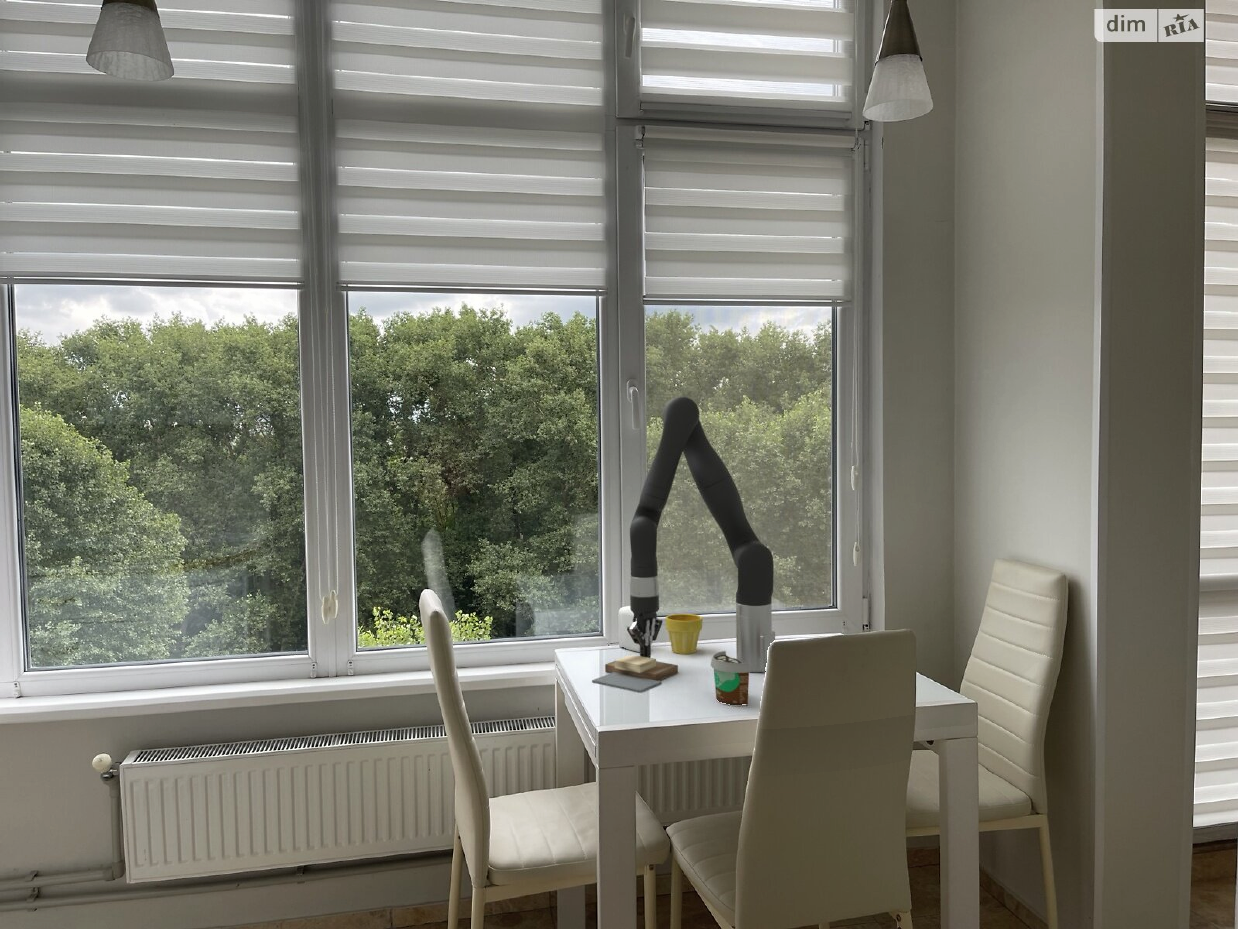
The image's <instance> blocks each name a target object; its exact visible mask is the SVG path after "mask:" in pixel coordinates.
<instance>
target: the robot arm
mask: <svg viewBox="0 0 1238 929" xmlns="http://www.w3.org/2000/svg"><path fill="white" fill-rule="evenodd" d="M662 419H663V425H662V426H663V427H662V433H661V437H660V440H659V441H660V442H659V445H658V448H657V451H656V453H655V456H654V457H653V460H652V463H651V465H650V468H649V470H648V472H647V475H646V478H645V480H644V484H643V486H642V488H641V493H640V497H639V501H638V502H639V503H638V505H637V508H636V509H635V512H634V515H633V517H632V521H631V524H630V527H629V542H630V543H629V544H630V552H631V553H630V554H631V555H630V580H629V582H630V583H629V600H630V601H629V603H630V605H629V606H630V609H631V611H632V612H633V613H634V617H633V624H632V626H631V627H628V628H627V631H628V633H629V635H630V636H631V638H632V640H633V641H634V643H635V644H639V645H640V652H639V653H640V654H639V656H643V657H648V658H652V657H651V656H652V647H651V646H652V644H653V642H655V641H656V640H657V638H658V635H659V632H660V630H661V628H662V625H663V619H659V618H658V614H657V613H658V611H660V585H659V584H660V583H659V576H658V575H659V574H658V571H659V570H658V557H657V547H658V542H657V541H658V527H659V524H660V520H661V518H662V514H663V510H664V509H665V507H666V504H667V502H668V500H669V496H670V493H671V490H672V487H673V483H674V481H675V477H676V473H677V470H678V466H679V463H680V460H681V458H682V454H683V456H684V457H685V460H686V464H687V466H688V469H689V472H690V474H691V476H692V478H693V481H694V483H695V486H696V487H697V490H698V492H699V493H700V495H701V498H702V499H703V502H704V503H705V505H706V507H707V509H708V510H709V513H710V514H711V516H712V517H713V519H714V520H715V522H716V524H717V525H718V527H719V528H720V529H721V532H722V534H723V536H724V538H725V541H726V543H727V546H728V549H729V551H730V554H731V558H732V559H733V563H734V565H735V567H736V568H737V588H736V591H735V592H736V593H735V628H736V629H735V633H736V635H735V636H736V640H735V641H736V642H735V643H736V645H735V646H736V650H735V651H736V659H737V660H739V661H740V662H741V663H749V666H750V671H751V672H750V673H764V674H765V673H766V672H765V667H766V663H767V650H768V647H769V646H770V643H772V642H773V641H774V640H775V641H776V632H775V630H773V616H772V615H773V613H772V611H773V610H772V609H773V608H772V607H773V606H772V598H773V597H772V596H773V593H774V578H775V576H774V575H775V574H774V570H775V569H774V556H773V554H772V551H771V550H770V549H769V547H768V546H767V545H765V544H763V543H762V542H761V540H760V539H759V538H758V536H757V534H756V533H755V532H754V529H753V528H752V526H751V525H750V523H749V520H748V518H747V516H746V512H745V510H744V506H743V502H742V499H741V496H740V492H739V490H738V488H737V485H736V483H735V482H734V479H733V477H732V475H731V473H730V471H729V470H728V468H727V466H726V465H725V463H724V461H723V460H722V458H721V457H720V455H719V454H718V453H717V451H716V449H714V447H713V446H712V444H711V443H710V440H708V437H707V435H706V433H705V431H704V428H703V425H702V422H701V420H700V409H699V407H698V404H697V403H696V402H695V401H694V400H693V399H692V398H690V397H688V396H676V397H673V398H671V399H670V400H668V401H667V403H665V405H664V407H663V410H662Z"/></svg>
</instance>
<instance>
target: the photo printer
mask: <svg viewBox="0 0 1238 929" xmlns="http://www.w3.org/2000/svg"><path fill="white" fill-rule="evenodd" d="M617 614H618V616H617V619H618V620H617V621H618V622H617V623H618V624H617V625H618V647H620V648H622V647H624V648H623V649H625V648H626V649H627V650H629V651H634V652H637V653H640V645H639V644H635V643H634V641H633V640H632V638H631V636H630V635H629V633H628V631H627V628H628V627H631V626H632V624H633V617H634V613H633V612H632V611H631V609H630V605H626V606H623V607H620V608H619V610H618V613H617Z"/></svg>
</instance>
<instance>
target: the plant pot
mask: <svg viewBox="0 0 1238 929" xmlns="http://www.w3.org/2000/svg"><path fill="white" fill-rule="evenodd" d="M665 629H666V630H667V631H668V635H669V642H670V646H671V651H672V652H673V653H675V654H680V655H691V654H694V653H696V652H695V651H697V647H698V642H699V637H700V632H701V631H702V629H703V616H701V615H700V614H699V615H698V614H693V613H673V614H669V615H666V616H665Z"/></svg>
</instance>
